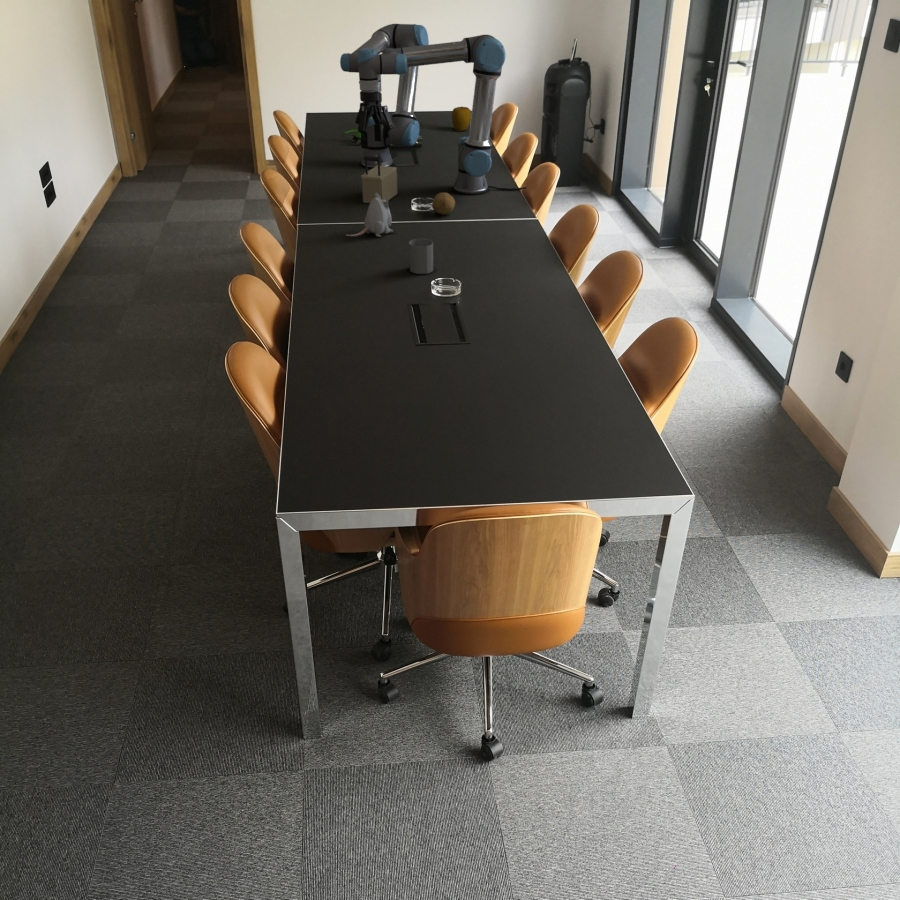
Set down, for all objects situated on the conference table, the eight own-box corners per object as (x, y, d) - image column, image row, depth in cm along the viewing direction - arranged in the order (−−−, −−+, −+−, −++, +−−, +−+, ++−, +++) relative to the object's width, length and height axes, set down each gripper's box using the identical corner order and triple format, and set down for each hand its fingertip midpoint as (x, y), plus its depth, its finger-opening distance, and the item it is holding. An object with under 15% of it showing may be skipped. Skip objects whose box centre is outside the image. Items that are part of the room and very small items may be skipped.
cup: (409, 265, 311) (408, 238, 306) (432, 265, 312) (431, 238, 307) (410, 274, 304) (409, 246, 299) (433, 273, 305) (433, 246, 299)
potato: (453, 208, 369) (453, 189, 365) (456, 218, 357) (456, 199, 353) (431, 208, 368) (430, 189, 364) (432, 218, 356) (432, 199, 352)
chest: (382, 204, 374) (381, 179, 368) (363, 202, 376) (361, 177, 370) (397, 193, 387) (396, 169, 381) (378, 191, 389) (377, 168, 384)
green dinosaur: (399, 126, 467) (343, 124, 465) (399, 141, 460) (342, 139, 458) (399, 136, 472) (343, 133, 470) (399, 151, 465) (342, 149, 463)
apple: (471, 132, 486) (471, 108, 479) (451, 132, 486) (451, 108, 479) (470, 128, 495) (471, 104, 488) (452, 128, 495) (452, 104, 488)
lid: (380, 180, 367) (379, 158, 362) (360, 178, 370) (359, 157, 365) (396, 169, 381) (396, 148, 376) (377, 167, 384) (376, 147, 379)
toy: (398, 232, 342) (397, 194, 334) (353, 246, 328) (351, 207, 320) (383, 227, 348) (381, 189, 340) (338, 241, 333) (335, 202, 325)
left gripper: (345, 90, 380) (348, 140, 392) (390, 97, 368) (391, 148, 380) (356, 87, 385) (359, 137, 397) (400, 94, 373) (402, 145, 385)
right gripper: (373, 84, 362) (375, 137, 374) (347, 95, 343) (350, 150, 354) (389, 85, 360) (391, 138, 372) (364, 96, 341) (367, 152, 352)
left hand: (375, 142), depth 388 cm, fingers open, 13 cm apart
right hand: (371, 144), depth 363 cm, fingers open, 13 cm apart
